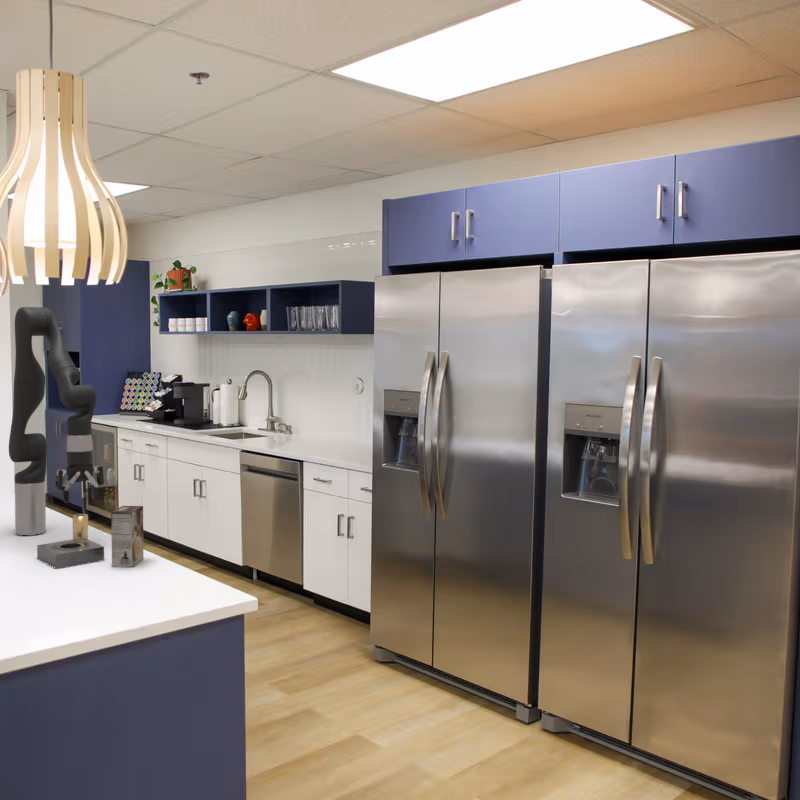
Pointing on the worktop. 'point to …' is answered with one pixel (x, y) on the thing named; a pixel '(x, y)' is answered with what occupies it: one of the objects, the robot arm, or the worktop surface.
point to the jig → (70, 552)
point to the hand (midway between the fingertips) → (80, 500)
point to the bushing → (80, 526)
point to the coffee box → (127, 535)
